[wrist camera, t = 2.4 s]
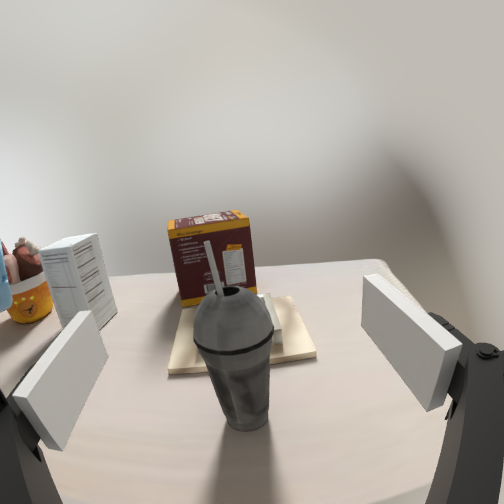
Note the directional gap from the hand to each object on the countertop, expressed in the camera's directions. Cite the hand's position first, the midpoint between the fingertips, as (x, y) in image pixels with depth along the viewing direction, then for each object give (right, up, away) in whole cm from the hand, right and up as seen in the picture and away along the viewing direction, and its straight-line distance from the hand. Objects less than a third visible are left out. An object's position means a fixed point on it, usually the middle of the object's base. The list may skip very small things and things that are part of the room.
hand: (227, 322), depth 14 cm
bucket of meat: (-52, -12, +44) cm, 69 cm away
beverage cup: (+1, -15, +16) cm, 22 cm away
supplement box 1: (-31, -11, +40) cm, 52 cm away
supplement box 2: (-6, -5, +50) cm, 51 cm away
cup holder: (-1, -10, +33) cm, 35 cm away
